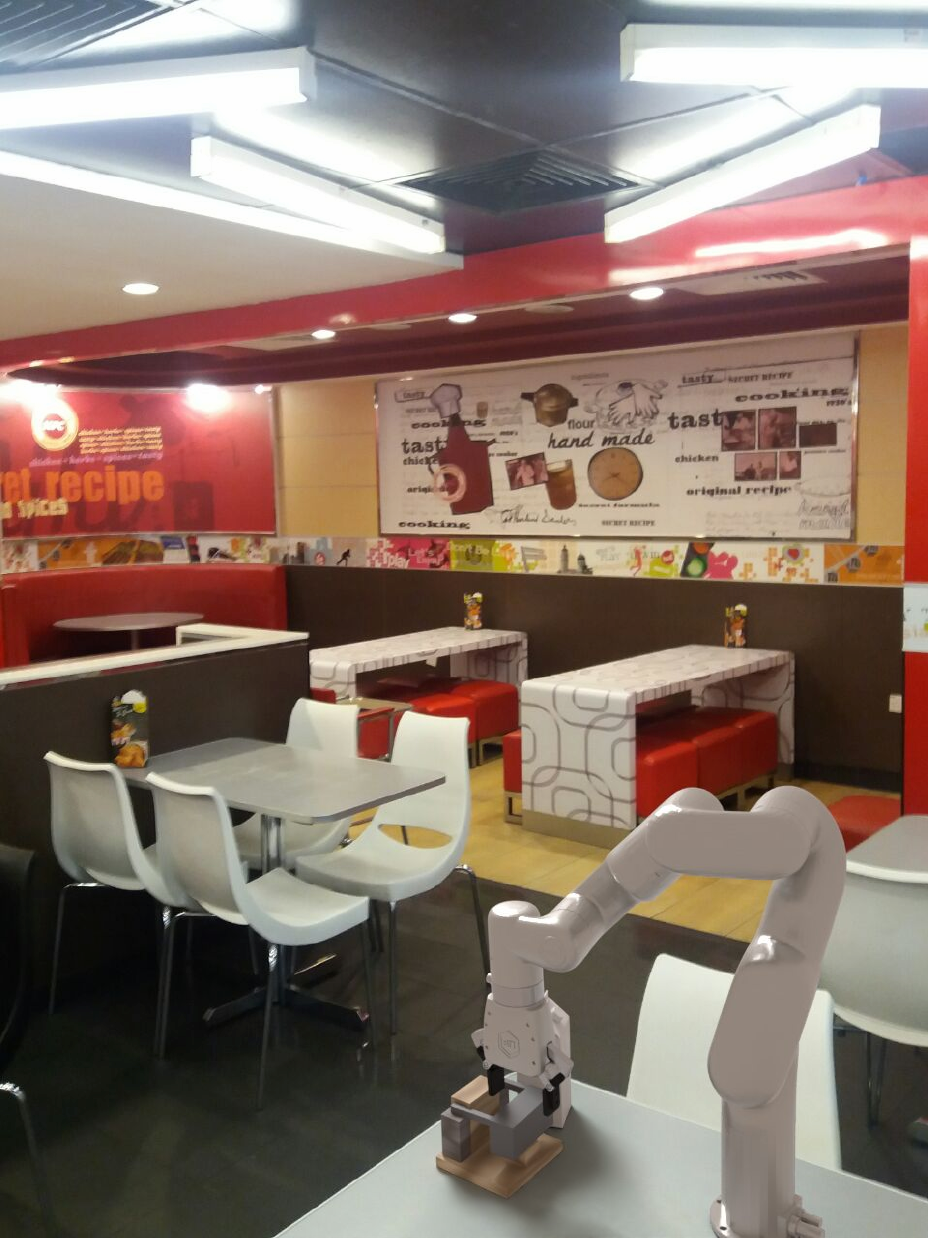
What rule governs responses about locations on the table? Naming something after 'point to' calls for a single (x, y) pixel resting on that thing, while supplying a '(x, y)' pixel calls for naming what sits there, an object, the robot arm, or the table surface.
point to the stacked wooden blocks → (487, 1144)
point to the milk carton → (563, 1044)
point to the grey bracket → (513, 1120)
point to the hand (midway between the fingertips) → (523, 1101)
